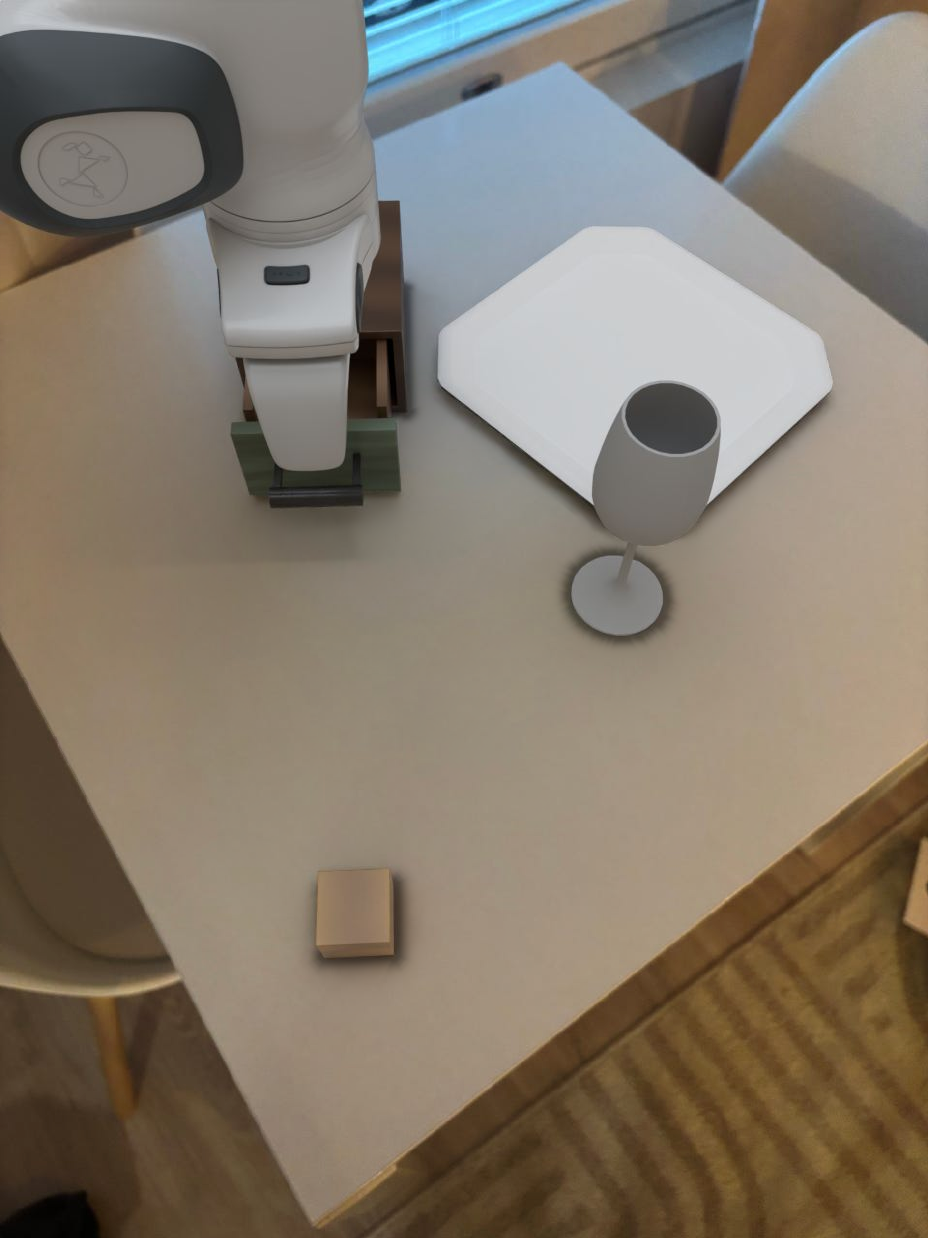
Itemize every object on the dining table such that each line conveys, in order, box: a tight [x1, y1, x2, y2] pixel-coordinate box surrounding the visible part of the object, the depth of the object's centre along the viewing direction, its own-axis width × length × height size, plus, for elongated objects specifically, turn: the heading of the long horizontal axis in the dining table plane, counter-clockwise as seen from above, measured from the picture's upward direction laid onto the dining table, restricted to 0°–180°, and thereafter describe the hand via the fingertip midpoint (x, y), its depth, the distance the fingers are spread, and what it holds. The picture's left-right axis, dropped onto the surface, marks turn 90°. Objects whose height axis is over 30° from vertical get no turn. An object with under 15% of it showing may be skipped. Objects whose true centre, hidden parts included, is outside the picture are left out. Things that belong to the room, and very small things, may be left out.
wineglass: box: [570, 380, 721, 637], centre depth 65 cm, size 8×8×21 cm
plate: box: [436, 225, 834, 509], centre depth 84 cm, size 29×29×2 cm
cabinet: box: [234, 199, 408, 414], centre depth 82 cm, size 16×14×10 cm
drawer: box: [230, 338, 402, 509], centre depth 76 cm, size 19×12×8 cm, turn 3°
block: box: [315, 867, 395, 959], centre depth 60 cm, size 4×4×4 cm
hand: (323, 397), depth 61 cm, fingers open, 8 cm apart
